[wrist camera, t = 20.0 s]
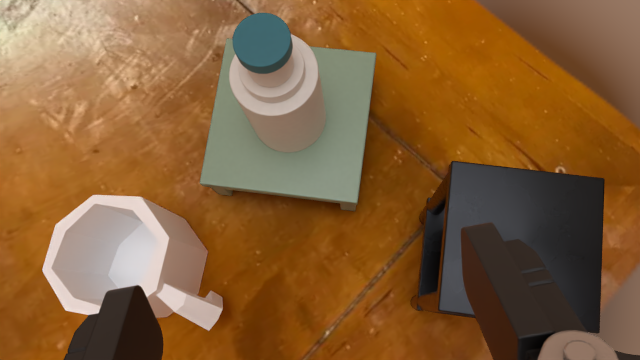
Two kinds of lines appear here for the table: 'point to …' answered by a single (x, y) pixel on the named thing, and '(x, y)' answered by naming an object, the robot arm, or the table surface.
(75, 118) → the table surface
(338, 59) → the low green table
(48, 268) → the mug
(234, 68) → the bottle
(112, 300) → the robot arm
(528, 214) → the black tiered rack
